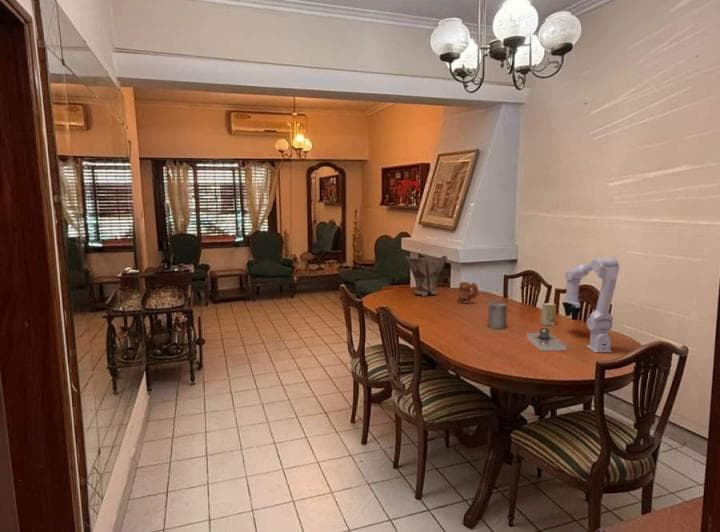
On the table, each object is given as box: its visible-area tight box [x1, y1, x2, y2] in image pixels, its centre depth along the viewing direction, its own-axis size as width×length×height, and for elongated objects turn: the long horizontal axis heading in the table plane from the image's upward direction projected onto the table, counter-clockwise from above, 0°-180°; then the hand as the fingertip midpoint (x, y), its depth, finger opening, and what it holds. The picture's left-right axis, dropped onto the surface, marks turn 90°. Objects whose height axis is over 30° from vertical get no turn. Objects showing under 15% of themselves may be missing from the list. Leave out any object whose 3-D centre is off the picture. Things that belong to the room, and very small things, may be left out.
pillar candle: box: [488, 301, 508, 330], centre depth 255 cm, size 10×10×15 cm
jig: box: [526, 332, 567, 352], centre depth 226 cm, size 20×12×2 cm, turn 178°
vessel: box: [405, 255, 448, 297], centre depth 341 cm, size 30×27×30 cm
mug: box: [458, 281, 479, 304], centre depth 312 cm, size 15×8×15 cm, turn 42°
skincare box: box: [540, 302, 557, 327], centre depth 258 cm, size 6×4×12 cm
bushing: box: [539, 327, 550, 340], centre depth 227 cm, size 4×4×7 cm
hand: (571, 317), depth 238 cm, fingers open, 7 cm apart
